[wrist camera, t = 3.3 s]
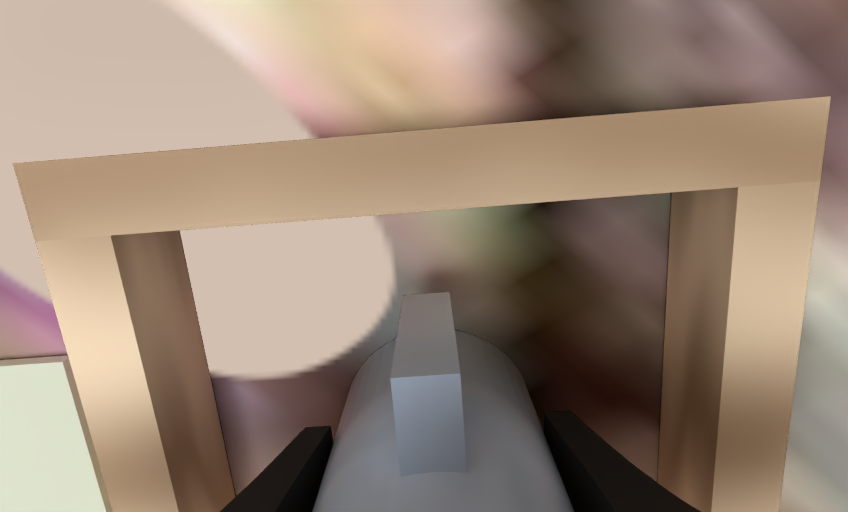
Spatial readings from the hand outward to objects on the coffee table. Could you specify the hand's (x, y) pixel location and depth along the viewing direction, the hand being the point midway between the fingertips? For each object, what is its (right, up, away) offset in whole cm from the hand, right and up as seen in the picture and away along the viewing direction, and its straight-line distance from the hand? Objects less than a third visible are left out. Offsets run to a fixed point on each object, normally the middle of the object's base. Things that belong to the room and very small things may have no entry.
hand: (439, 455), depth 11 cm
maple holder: (0, 0, +2) cm, 2 cm away
